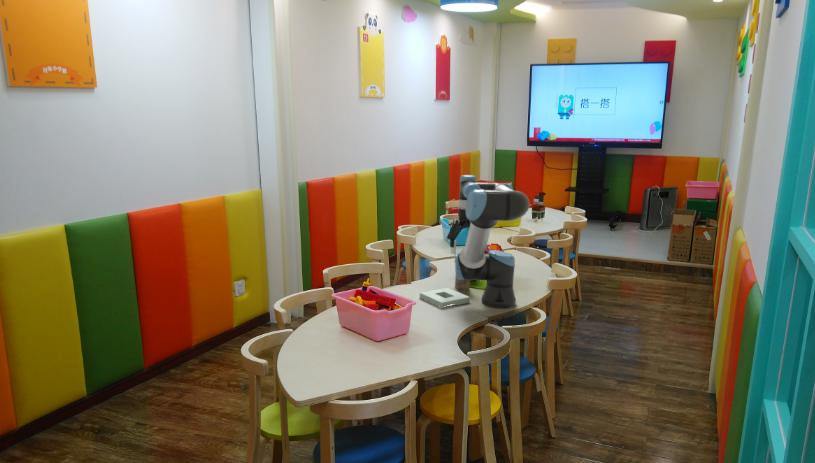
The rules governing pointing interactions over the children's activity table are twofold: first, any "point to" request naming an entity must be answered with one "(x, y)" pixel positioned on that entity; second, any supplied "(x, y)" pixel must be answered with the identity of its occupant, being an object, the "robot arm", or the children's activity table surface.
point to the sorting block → (449, 294)
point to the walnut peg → (462, 284)
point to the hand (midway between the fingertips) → (464, 252)
